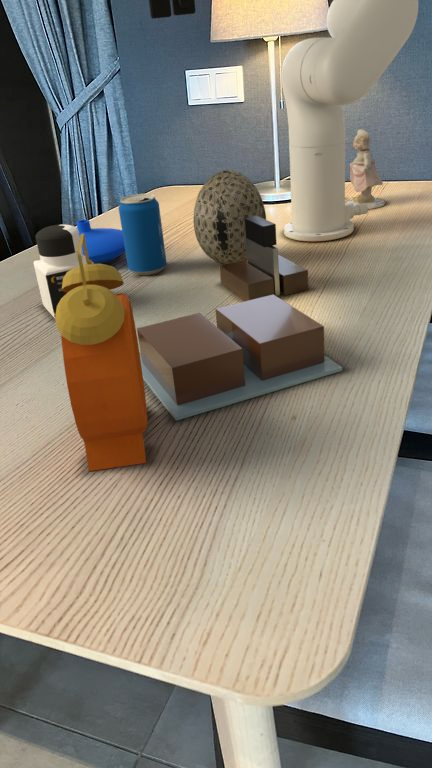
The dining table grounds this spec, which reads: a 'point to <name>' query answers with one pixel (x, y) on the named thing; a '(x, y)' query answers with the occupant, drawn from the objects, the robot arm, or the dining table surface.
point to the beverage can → (142, 234)
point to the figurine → (364, 173)
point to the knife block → (262, 279)
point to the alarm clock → (102, 365)
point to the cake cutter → (262, 248)
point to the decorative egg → (226, 215)
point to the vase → (101, 242)
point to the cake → (231, 355)
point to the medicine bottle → (56, 261)
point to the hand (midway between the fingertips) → (172, 16)
